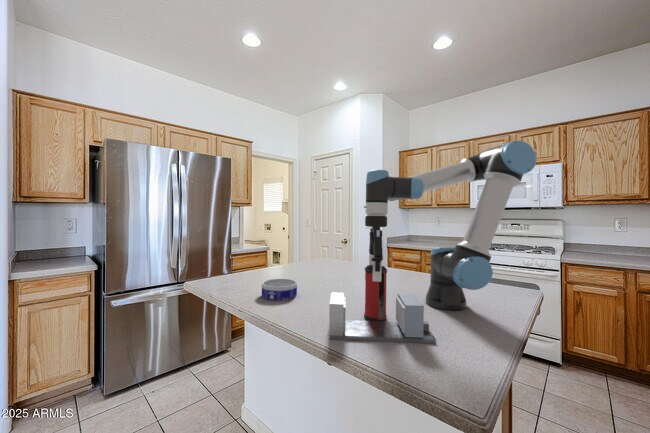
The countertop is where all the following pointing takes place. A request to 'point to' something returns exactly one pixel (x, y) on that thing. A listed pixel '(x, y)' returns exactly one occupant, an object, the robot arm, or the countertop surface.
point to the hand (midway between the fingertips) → (374, 276)
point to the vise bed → (379, 332)
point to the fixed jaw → (337, 314)
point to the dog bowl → (279, 289)
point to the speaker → (375, 295)
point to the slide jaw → (410, 315)
